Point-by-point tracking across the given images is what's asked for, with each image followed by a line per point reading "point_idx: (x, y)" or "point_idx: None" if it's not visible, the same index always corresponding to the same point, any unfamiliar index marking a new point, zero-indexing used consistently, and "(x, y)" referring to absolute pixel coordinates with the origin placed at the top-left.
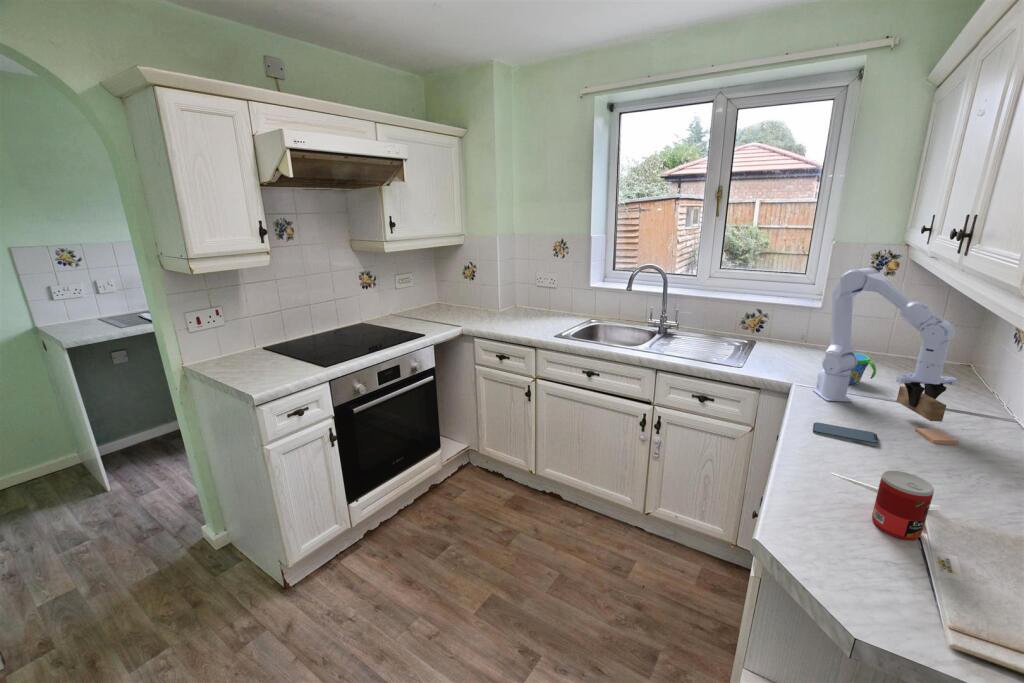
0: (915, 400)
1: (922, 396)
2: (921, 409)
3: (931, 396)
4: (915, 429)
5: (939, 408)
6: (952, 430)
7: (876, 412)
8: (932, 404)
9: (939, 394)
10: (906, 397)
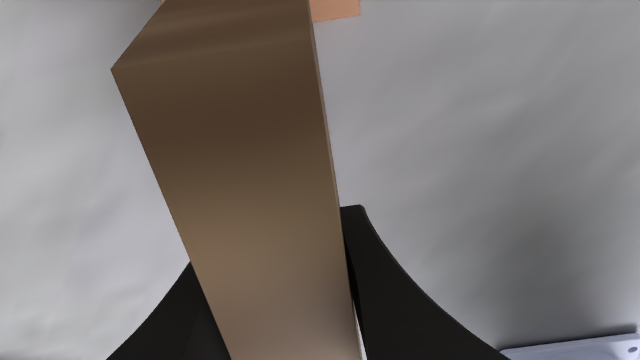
0: (386, 250)
1: (308, 314)
2: (330, 149)
3: (206, 328)
4: (359, 6)
5: (219, 32)
6: (59, 100)
7: (440, 259)
8: (317, 77)
9: (119, 355)
10: (359, 343)
